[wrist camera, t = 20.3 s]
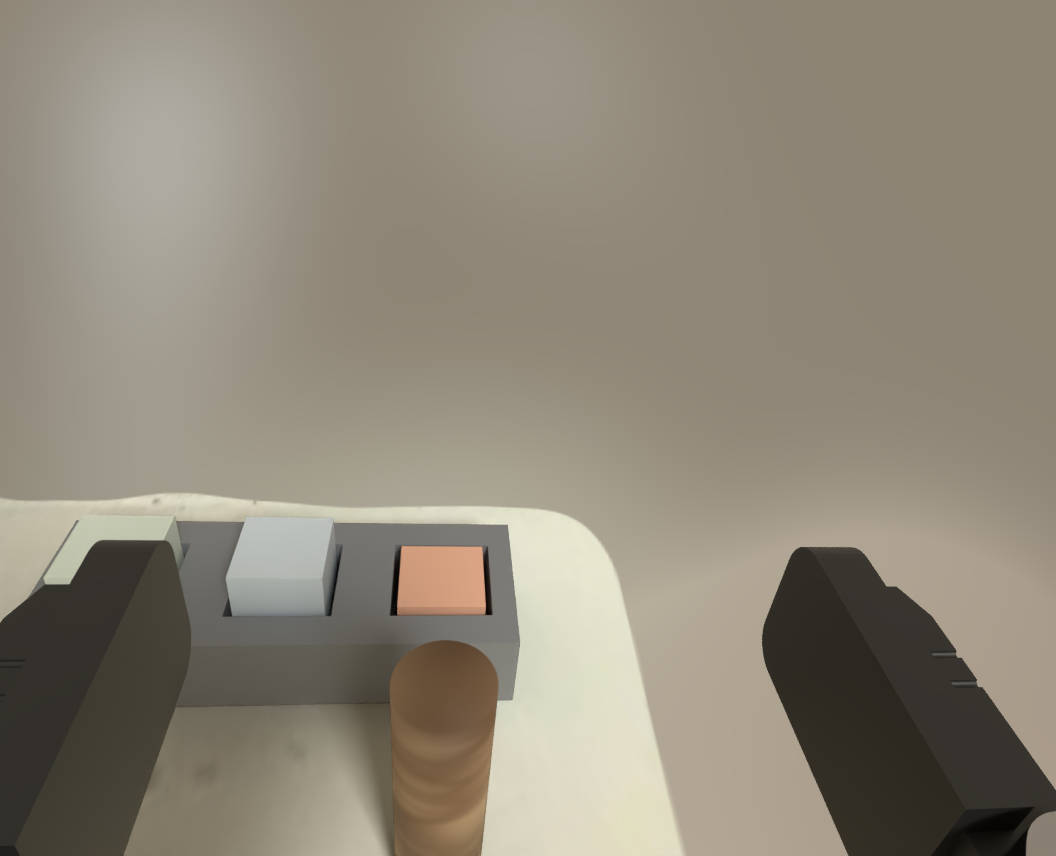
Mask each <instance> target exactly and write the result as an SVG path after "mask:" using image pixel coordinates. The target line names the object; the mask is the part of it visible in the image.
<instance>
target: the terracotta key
mask: <svg viewBox="0 0 1056 856" xmlns="http://www.w3.org/2000/svg"><path fill="white" fill-rule="evenodd" d="M485 610H486V602H485V585H484V569H483V552H482V547H449V546H402V548H401V562H400V576H399V590H398V604H397V616H440V615H485Z"/></svg>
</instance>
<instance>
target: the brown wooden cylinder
mask: <svg viewBox="0 0 1056 856" xmlns="http://www.w3.org/2000/svg"><path fill="white" fill-rule="evenodd" d="M498 688H499V684H498V676H497V673H496V670H495V668H494V666H493V664H492V663H491V661H490V660H489V659H488V657H487V656H486V655H485V654H483V653H482V652H481V651H480V650H478V649H477V648H475V647H473V646H471V645H469V644H466V643H463V642H459V641H452V640H439V641H433V642H429V643H425V644H423V645H420V646H418V647H416V648H414V649H413V650H411V651H410V652H408V653H407V654H406V655H405V656H404V657H403V658H402V659H401V660H400V661H399V662H398V664H397V665H396V667H395V669H394V671H393V673H392V676H391V680H390V710H391V744H392V777H393V810H394V843H395V856H481V851H482V842H483V832H484V823H485V813H486V803H487V794H488V784H489V774H490V765H491V755H492V746H493V736H494V726H495V717H496V707H497V698H498Z"/></svg>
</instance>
